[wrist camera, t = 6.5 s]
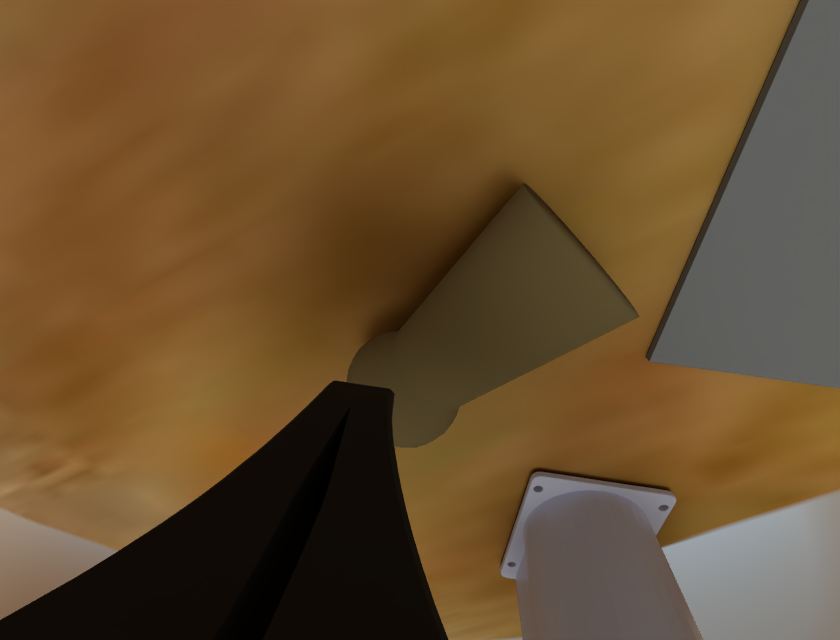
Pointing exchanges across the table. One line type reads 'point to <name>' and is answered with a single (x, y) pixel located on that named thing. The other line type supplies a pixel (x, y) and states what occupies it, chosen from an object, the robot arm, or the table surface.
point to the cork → (492, 319)
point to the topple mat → (772, 229)
